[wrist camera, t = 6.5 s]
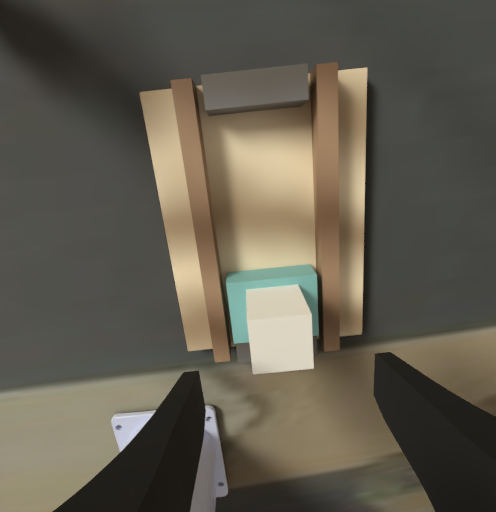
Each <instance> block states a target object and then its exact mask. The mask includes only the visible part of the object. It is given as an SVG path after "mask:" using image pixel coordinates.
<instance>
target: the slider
mask: <svg viewBox="0 0 496 512" xmlns="http://www.w3.org/2000/svg"><path fill="white" fill-rule="evenodd" d="M226 288H227V295H228V303H229V311H230V318H231V326H232V333H233V341H234V344H236V343H247V342H249V344H250V353H251V361H252V370H253V374H262V373H273V372H283V371H294V370H304V369H314V360H313V336H319V326H318V294H317V274H316V272H315V271H314V269H313V268H312V266H311V265H310V264H306V265H296V266H286V267H276V268H266V269H256V270H246V271H236V272H227V279H226Z"/></svg>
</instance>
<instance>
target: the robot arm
mask: <svg viewBox="0 0 496 512" xmlns="http://www.w3.org/2000/svg"><path fill="white" fill-rule="evenodd" d="M374 397H375V399H376V402H377V404H378V406H379V409H380V411H381V413H382V415H383V418H384V420H385V422H386V423H387V425H388V427H389V429H390V430H391V432H392V434H393V436H394V437H395V439H396V441H397V442H398V444H399V446H400V448H401V449H402V451H403V453H404V454H405V456H406V458H407V460H408V461H409V463H410V465H411V466H412V468H413V470H414V471H415V473H416V475H417V477H418V478H419V480H420V482H421V484H422V486H423V487H424V489H425V491H426V493H427V495H428V497H429V499H430V501H431V503H432V505H433V508H434V510H435V512H496V417H495V416H493V415H491V414H489V413H487V412H485V411H483V410H482V409H480V408H478V407H476V406H474V405H472V404H471V403H469V402H467V401H466V400H464V399H462V398H460V397H459V396H457V395H455V394H454V393H452V392H450V391H449V390H447V389H446V388H444V387H442V386H441V385H439V384H438V383H436V382H434V381H433V380H431V379H430V378H428V377H427V376H425V375H424V374H422V373H421V372H419V371H418V370H416V369H415V368H413V367H412V366H410V365H409V364H407V363H406V362H404V361H403V360H401V359H400V358H398V357H397V356H395V355H394V354H392V353H391V352H387V353H377V354H375V370H374ZM208 417H211V418H208ZM111 424H112V427H113V430H114V433H115V437H116V440H117V443H118V446H119V450H120V453H119V454H118V455H117V456H116V457H115V458H114V459H113V460H112V461H111V462H110V463H109V464H108V465H107V466H106V467H105V468H104V469H103V470H102V471H100V472H99V473H98V474H97V475H96V476H95V477H94V478H93V479H92V480H91V481H90V482H88V483H87V484H86V485H85V486H84V487H83V488H81V489H80V490H79V491H78V492H77V493H76V494H74V495H73V496H72V497H71V498H69V499H68V500H67V501H66V502H64V503H63V504H62V505H61V506H59V507H58V508H57V509H56V510H54V511H53V512H215V506H216V497H224V496H226V495H227V494H228V484H227V478H226V472H225V466H224V460H223V454H222V448H221V442H220V437H219V431H218V425H217V419H216V413H215V409H214V407H213V406H209V405H207V406H205V403H204V398H203V392H202V387H201V381H200V375H199V371H192V372H184V373H183V374H182V375H181V377H180V378H179V379H178V381H177V382H176V384H175V385H174V387H173V388H172V390H171V391H170V392H169V394H168V395H167V397H166V398H165V399H164V401H163V402H162V403H161V405H160V406H159V407H158V409H157V410H154V411H143V412H132V413H122V414H115V415H114V416H113V418H112V420H111ZM119 425H120V426H119Z"/></svg>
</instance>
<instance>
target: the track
mask: <svg viewBox="0 0 496 512" xmlns="http://www.w3.org/2000/svg"><path fill="white" fill-rule="evenodd" d="M170 81H171V87H172V89H164V90H155V91H145V92H139V93H140V98H141V103H142V109H143V114H144V119H145V125H146V130H147V135H148V141H149V146H150V151H151V157H152V162H153V167H154V172H155V178H156V183H157V188H158V194H159V199H160V204H161V210H162V215H163V220H164V226H165V231H166V236H167V242H168V247H169V252H170V258H171V263H172V268H173V273H174V279H175V284H176V289H177V295H178V300H179V305H180V311H181V316H182V321H183V327H184V332H185V337H186V343H187V348H188V351H194V350H204V349H213V353H214V359H215V362H224V361H231V347H235V346H236V350H237V358H238V363H245V362H252V361H251V353H250V344H249V342H247V343H236V344H234V341H233V333H232V326H231V318H230V311H229V303H228V295H227V288H226V279H227V272H236V271H246V270H256V269H266V268H276V267H286V266H296V265H306V264H310V265H311V266H312V268H313V269H314V271H315V272H316V274H317V294H318V326H319V336H313V356H317V339H319V341H320V343H321V346H322V348H323V350H324V352H328V351H338V350H340V336H349V335H359V334H362V314H363V263H364V212H365V161H366V110H367V68H358V69H349V70H339V71H338V62H335V63H325V64H317V65H316V66H315V68H314V69H313V70H312V72H311V73H310V74H308V64H299V65H289V66H280V67H271V68H262V69H253V70H243V71H234V72H225V73H216V74H206V75H201V81H202V85H201V86H196V85H195V84H194V82H193V80H192V79H191V78H187V79H178V80H170Z"/></svg>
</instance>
